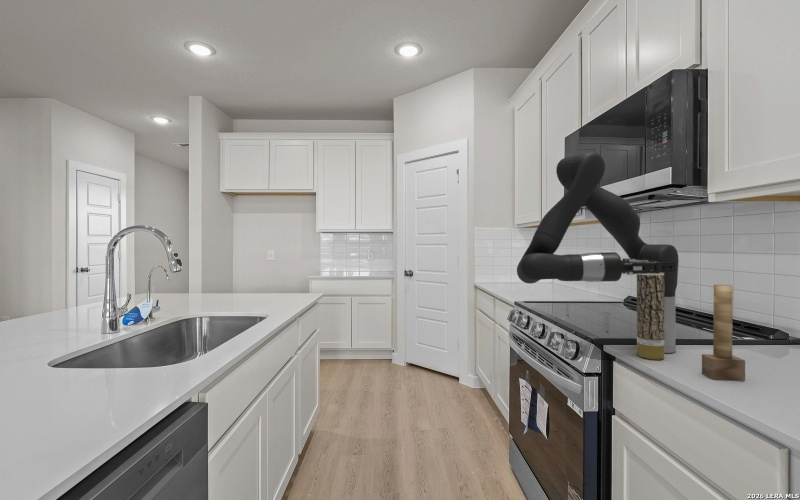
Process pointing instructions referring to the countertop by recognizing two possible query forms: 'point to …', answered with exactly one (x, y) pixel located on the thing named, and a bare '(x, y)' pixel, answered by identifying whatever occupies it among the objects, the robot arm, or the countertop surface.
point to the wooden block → (723, 368)
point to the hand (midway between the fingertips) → (665, 265)
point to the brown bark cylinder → (650, 316)
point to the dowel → (722, 321)
